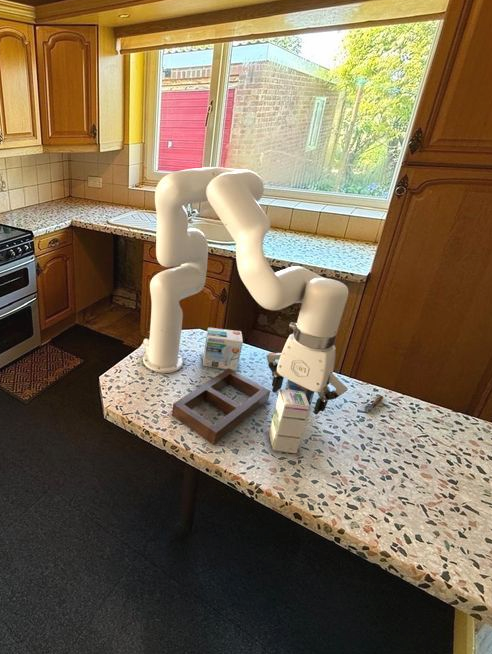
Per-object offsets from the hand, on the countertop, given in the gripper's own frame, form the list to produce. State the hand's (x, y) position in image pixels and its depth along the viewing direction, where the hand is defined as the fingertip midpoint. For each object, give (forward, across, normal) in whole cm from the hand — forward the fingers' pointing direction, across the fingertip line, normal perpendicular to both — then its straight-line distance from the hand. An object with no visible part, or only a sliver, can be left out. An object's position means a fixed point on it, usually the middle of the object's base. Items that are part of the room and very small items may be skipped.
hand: (296, 400), depth 91 cm
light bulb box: (+14, -31, +17) cm, 38 cm away
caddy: (+14, -18, -1) cm, 22 cm away
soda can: (+14, -6, +17) cm, 23 cm away
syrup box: (+14, -1, 0) cm, 14 cm away
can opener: (+14, +8, +33) cm, 37 cm away
